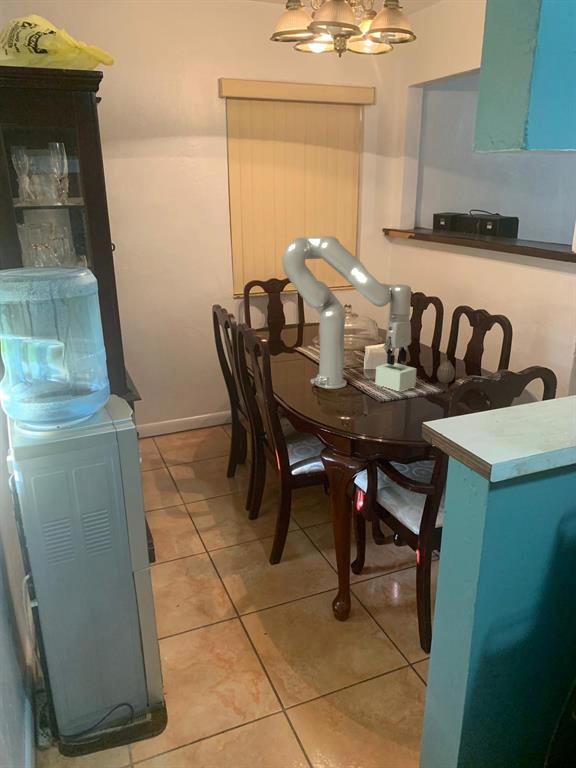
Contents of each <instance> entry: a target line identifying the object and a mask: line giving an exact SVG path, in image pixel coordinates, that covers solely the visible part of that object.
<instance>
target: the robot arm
mask: <svg viewBox="0 0 576 768" xmlns="http://www.w3.org/2000/svg"><path fill="white" fill-rule="evenodd" d="M318 259H320V260H321V259H322V260H323V261H324V262H325V263H327V264H328V265H329V267H331V268H332V269H333V270H334V271H336V272H337V273H338V274H339V275H341V276H342V277H343V278H344V280H346V281H347V282H348V284H350V285H351V286H352V287H354V288H355V289H356V291H357V292H359V293H360V295H362V296H363V297H364V298H365V299H367V300H368V301H369V303H371V304H372V305H373V306H375V307H378V308H379V307H380V308H381V307H382V308H383V307H385V306H387V305H388V304H389V319H388V325H387V327H386V328H387V329H386V338H385V343H384V345H383V349H384V351H385V352H386V355H387V356H386V364H390V365H394V363H396V362H395V361H396V360H395V358H396V355H395V353H396V352H395V351H396V349H397V350H398V349H400V350H399V352H398V361H400V362H406V361H407V352H408V350H409V347H410V345H411V343H412V327H411V326H412V325H411V320H410V312H411V299H412V298H411V297H412V287H411V286H410V285H407V284H390V283H382V282H381V283H380V282H379V281H378V280H377V279H376V278H375V277H374V276H373V275H372V274H371V273H370V272H369V271H368V269H367V268H366V266H365V265H364V264H363V263H362V261H361V260H360V259H358V257H356V256H355V255H353V254H352V253H351V252H350V251H349V250H348V249H347V248H346V247H345V246H344V245H342V243H341V242H340V241H339V239H338V238H337V237H335V236H332V235H326V236H325V235H324V236H310V237H309V236H308V237H305V236H303V237H297V238H295V239H292V240H291V241H290V242H289V243H288V244H287V246H286V248H285V249H284V252H283V255H282V259H281V261H282V269H283V271H284V273H285V275H286V278H288V280H289V281H290V283H291V284H292V285H293V286H294V288H295V290H296V291H297V292H298V294H299V295H300V297H301V298H302V299H303V300H304V302H305V303H306V305H307V306H309V308H312V309H315V311H317V313H318V315H320V316H319V366H318V367H319V368H318V369H319V372H318V374H317V375H316V377H315V378H311V379H310V384H315V386H317V387H319V388H322V389H328V390H329V389H331V390H334V389H341V388H344V387H346V386H347V383H348V382H347V380H346V379H344V359H345V358H344V357H345V356H344V353H345V325H346V324H345V323H346V309H345V307H344V306H343V305H342V303H341V302H340V301H339V299H338V298H337V297H336V295H335V294H334V292H332V289H330V287H329V286H328V285H327V284H326V283H325V282H324V281H320V280H318V279H317V278H316V277H315V275H314V273H312V271H311V270H310V269H309V267H308V266H307V265H306V264H307V263H306V260H318ZM391 349H392V350H391Z"/></svg>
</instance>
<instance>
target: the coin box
mask: <svg viewBox="0 0 576 768" xmlns="http://www.w3.org/2000/svg"><path fill="white" fill-rule="evenodd" d="M416 379H417V368H415V367H413V366H408V365H405V364H403V363H402V364H401V363H398V362H394V365H390V364H387V363H384V364H381V365H378V366H376V367H375V380H374V383H375V384H377V385H380V386H384V387H387V388H390V389H393V390H396V391H401V390H405V389H408V388H411V387H414V386H415V387H416Z"/></svg>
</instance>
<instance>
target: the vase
mask: <svg viewBox="0 0 576 768" xmlns="http://www.w3.org/2000/svg"><path fill="white" fill-rule="evenodd" d="M455 373H456V371H455V367H454V366H453V364H452V363H451V360H448V359H447V360H446V359H445V360H443V362H442V363H441V364H440V365H439V366H438V367H437V372H436V376H437V379H438V380H439V382H441V383H444V384H449V383H451V382H452V381H453V380H454V378H455V375H456V374H455Z"/></svg>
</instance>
